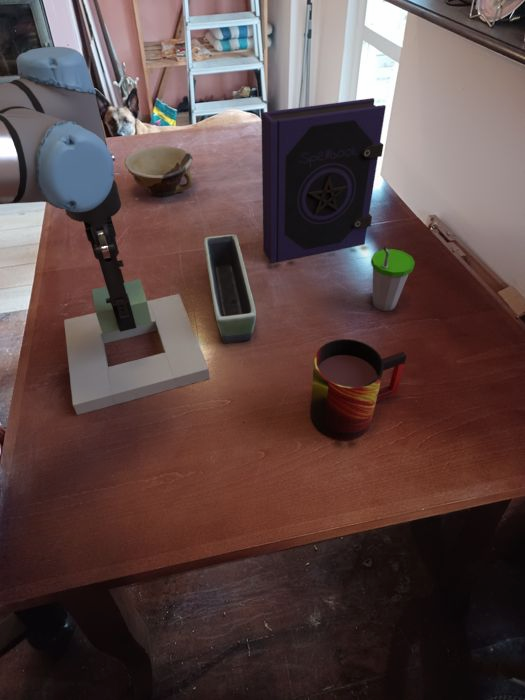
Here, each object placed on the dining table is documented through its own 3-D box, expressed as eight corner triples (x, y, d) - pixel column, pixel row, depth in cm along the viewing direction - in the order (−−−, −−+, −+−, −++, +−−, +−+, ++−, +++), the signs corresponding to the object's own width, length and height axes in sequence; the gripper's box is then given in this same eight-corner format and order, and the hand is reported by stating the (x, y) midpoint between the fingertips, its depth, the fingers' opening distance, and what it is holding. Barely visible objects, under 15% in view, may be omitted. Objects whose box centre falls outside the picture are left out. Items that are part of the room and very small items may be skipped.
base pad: (77, 415, 76) (72, 405, 74) (67, 329, 91) (63, 319, 89) (210, 378, 81) (208, 368, 80) (180, 303, 96) (178, 293, 94)
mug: (396, 397, 78) (411, 343, 69) (349, 452, 70) (359, 399, 62) (346, 369, 82) (355, 316, 74) (297, 418, 75) (300, 365, 67)
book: (271, 264, 106) (271, 122, 85) (262, 249, 110) (260, 111, 89) (367, 245, 111) (389, 106, 90) (355, 231, 115) (373, 96, 94)
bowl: (119, 203, 128) (111, 168, 121) (150, 175, 140) (143, 141, 133) (180, 211, 124) (174, 176, 117) (205, 181, 136) (202, 148, 129)
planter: (258, 345, 87) (257, 314, 82) (219, 350, 86) (215, 319, 81) (238, 261, 107) (236, 233, 102) (206, 265, 106) (202, 236, 101)
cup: (392, 289, 99) (407, 223, 88) (411, 312, 93) (428, 245, 83) (358, 296, 97) (368, 230, 87) (374, 320, 92) (387, 253, 81)
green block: (102, 334, 77) (95, 313, 74) (98, 310, 81) (91, 289, 78) (151, 322, 79) (146, 301, 76) (145, 299, 83) (140, 278, 80)
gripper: (126, 211, 58) (158, 347, 74) (106, 152, 71) (137, 278, 88) (62, 223, 57) (109, 359, 73) (54, 160, 70) (95, 287, 86)
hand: (124, 315), depth 80 cm, fingers closed on green block, 6 cm apart
